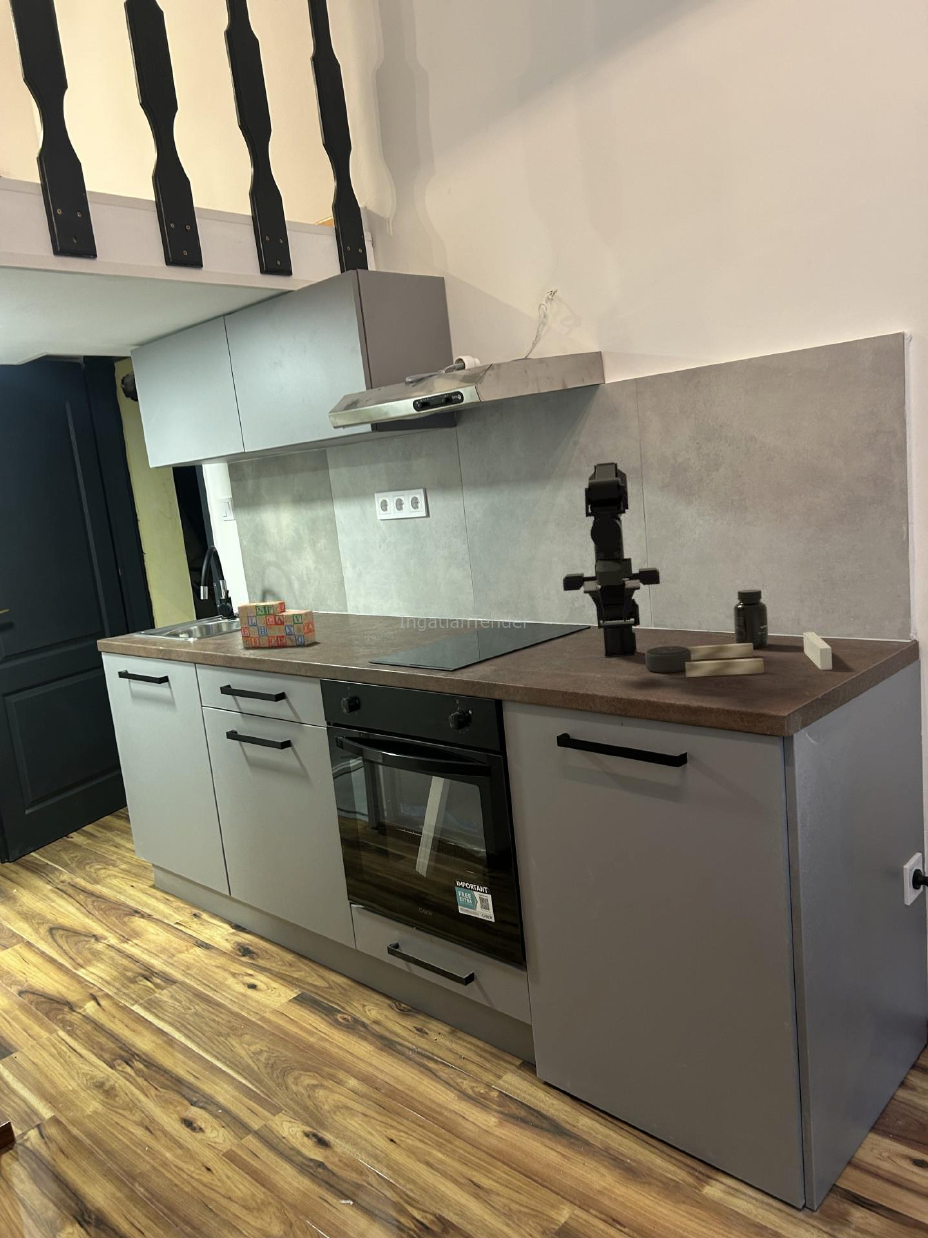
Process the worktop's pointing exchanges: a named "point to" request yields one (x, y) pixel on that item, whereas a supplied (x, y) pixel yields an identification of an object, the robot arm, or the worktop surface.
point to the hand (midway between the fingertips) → (614, 622)
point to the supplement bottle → (751, 619)
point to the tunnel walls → (723, 665)
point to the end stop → (817, 650)
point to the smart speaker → (667, 659)
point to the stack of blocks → (275, 625)
